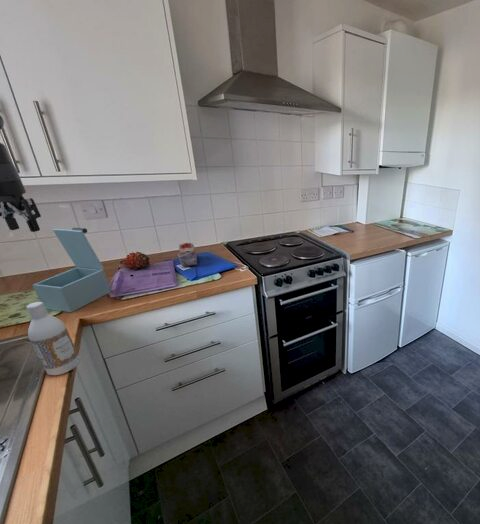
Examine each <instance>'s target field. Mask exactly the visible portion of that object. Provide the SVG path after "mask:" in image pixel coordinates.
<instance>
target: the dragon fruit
mask: <svg viewBox="0 0 480 524" xmlns="http://www.w3.org/2000/svg"><path fill="white" fill-rule="evenodd" d="M119 264H120V265H123V268H126V269H133V270H134V271H136V270H139V269H143V268H145V266H147V265H149V264H150V257H149V256H148V255H147V254H146V253H142V252H141V251H136V252H130V253H128V254H127V255H126V257H125V258H122V260H121V261H120V262H119Z"/></svg>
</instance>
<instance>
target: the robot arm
mask: <svg viewBox="0 0 480 524" xmlns="http://www.w3.org/2000/svg"><path fill="white" fill-rule="evenodd" d="M4 126H5V121H4V118H3V117H2V115H1V114H0V131H1V130H2V129H3V128H4ZM26 193H27V191H26V189H25V186H24V184H23V181H22V179H21V177H20V174H19V172H18V170H17V168H16V166H15V164H14V162H13V160H12V158H11V156H10V154H9V152H8V149H7V147H6V145H5V144H4V143H2V142H0V217H1V218H2V219H3V220H4V221H5V223H6V225H7V227H8V229H9V230H10V231H16V230H19V229H20V226H19V223H18V222H17V221H18V220H17V219H16V217H15V214H17V215H18V216H21V217H22V218H23V219H24V220H25V223H26V225H27V227H28V229H29V231H30V232H31V233H36V232H39V231H40V230H41V228H40V226H39V223H38V221H37V220H38V218H41V216H42V215H41V212H40V211H39V209H38V206H37V204H36V201H35V200H34V199H33V198H32V197H30V198H25V197H24V196H23V194H26Z"/></svg>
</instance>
